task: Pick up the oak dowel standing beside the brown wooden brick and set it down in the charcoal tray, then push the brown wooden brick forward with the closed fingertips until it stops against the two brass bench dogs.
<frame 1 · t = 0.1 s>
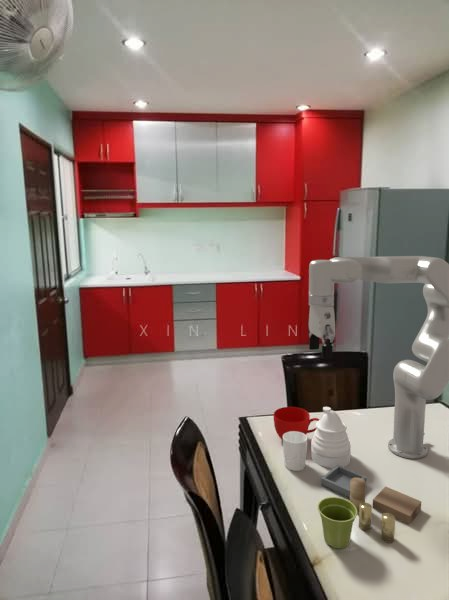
hand: (320, 353, 133), 37 cm above the table, tool pointing down, fingers open, 9 cm apart
bench dogs: (376, 532, 107), on the table
plant pot: (336, 540, 105), on the table
honey pot: (330, 457, 142), on the table
dowel: (357, 508, 117), on the table
tray: (343, 485, 127), on the table
ceramic cup: (296, 440, 154), on the table
brown wooden brick: (396, 510, 116), on the table
white cup: (294, 465, 138), on the table
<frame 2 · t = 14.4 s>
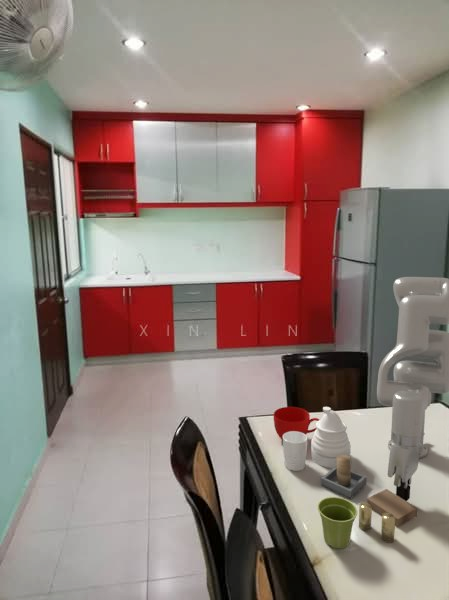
hand: (402, 497, 118), 1 cm above the table, tool pointing down, fingers closed
dowel: (343, 482, 127), point 1 cm above the table, touching tray
brown wooden brick: (391, 513, 115), on the table
everything else where it was.
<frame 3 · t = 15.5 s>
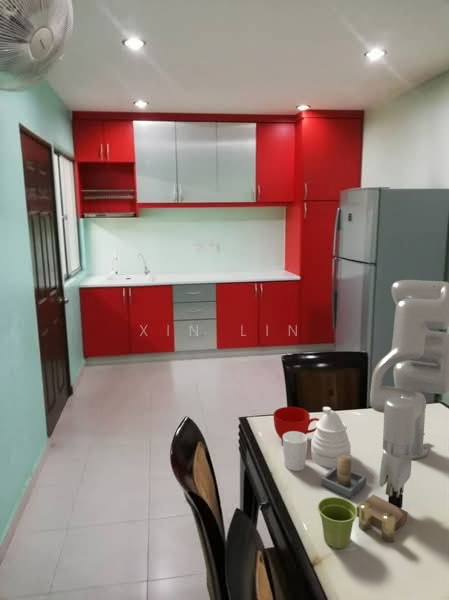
hand: (395, 506, 115), 1 cm above the table, tool pointing down, fingers closed
brown wooden brick: (381, 519, 112), on the table, touching gripper
everything else where it was.
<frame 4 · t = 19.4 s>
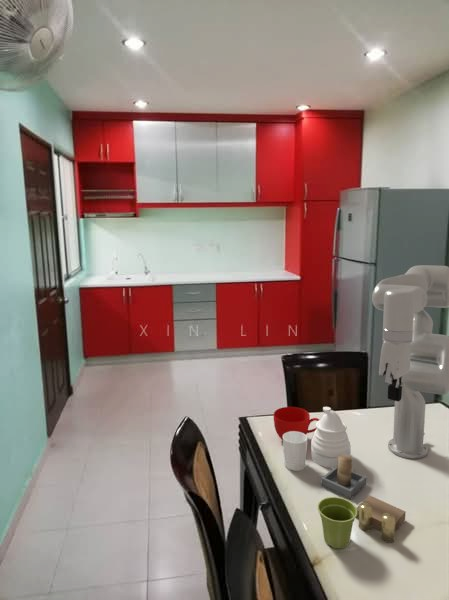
hand: (394, 399, 117), 29 cm above the table, tool pointing down, fingers closed
brown wooden brick: (379, 520, 112), on the table
everything else where it was.
at the end: dowel inside the target area on the tray (0.1 cm from its centre), point 0.7 cm above the tray's base; brown wooden brick 1.5 cm from the target spot, on the table; the gripper is holding nothing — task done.
